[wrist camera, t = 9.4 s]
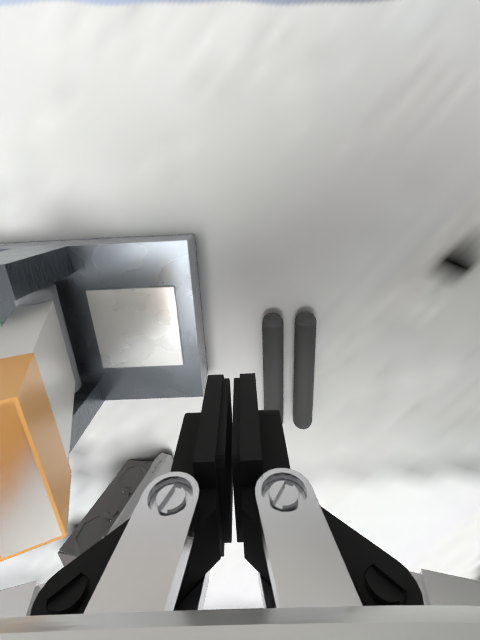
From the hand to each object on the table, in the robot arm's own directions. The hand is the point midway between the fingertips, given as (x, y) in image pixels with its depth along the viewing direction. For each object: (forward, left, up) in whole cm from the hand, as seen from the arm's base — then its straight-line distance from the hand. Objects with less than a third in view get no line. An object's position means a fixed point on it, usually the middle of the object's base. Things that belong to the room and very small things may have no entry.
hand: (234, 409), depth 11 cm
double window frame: (+12, 0, -11) cm, 17 cm away
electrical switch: (+8, +17, -11) cm, 22 cm away
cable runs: (-4, +5, -11) cm, 13 cm away
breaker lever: (+10, 0, -7) cm, 12 cm away
